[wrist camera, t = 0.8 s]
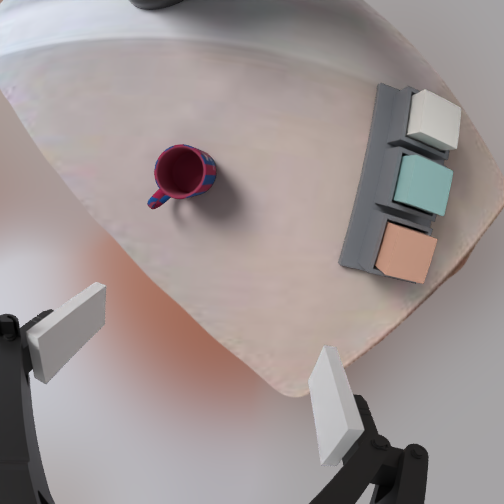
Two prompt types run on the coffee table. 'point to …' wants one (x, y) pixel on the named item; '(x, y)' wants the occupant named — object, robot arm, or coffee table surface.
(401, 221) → the console
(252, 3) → the coffee table surface
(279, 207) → the coffee table surface
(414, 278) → the terracotta key
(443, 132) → the ivory key
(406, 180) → the teal key
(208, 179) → the mug
